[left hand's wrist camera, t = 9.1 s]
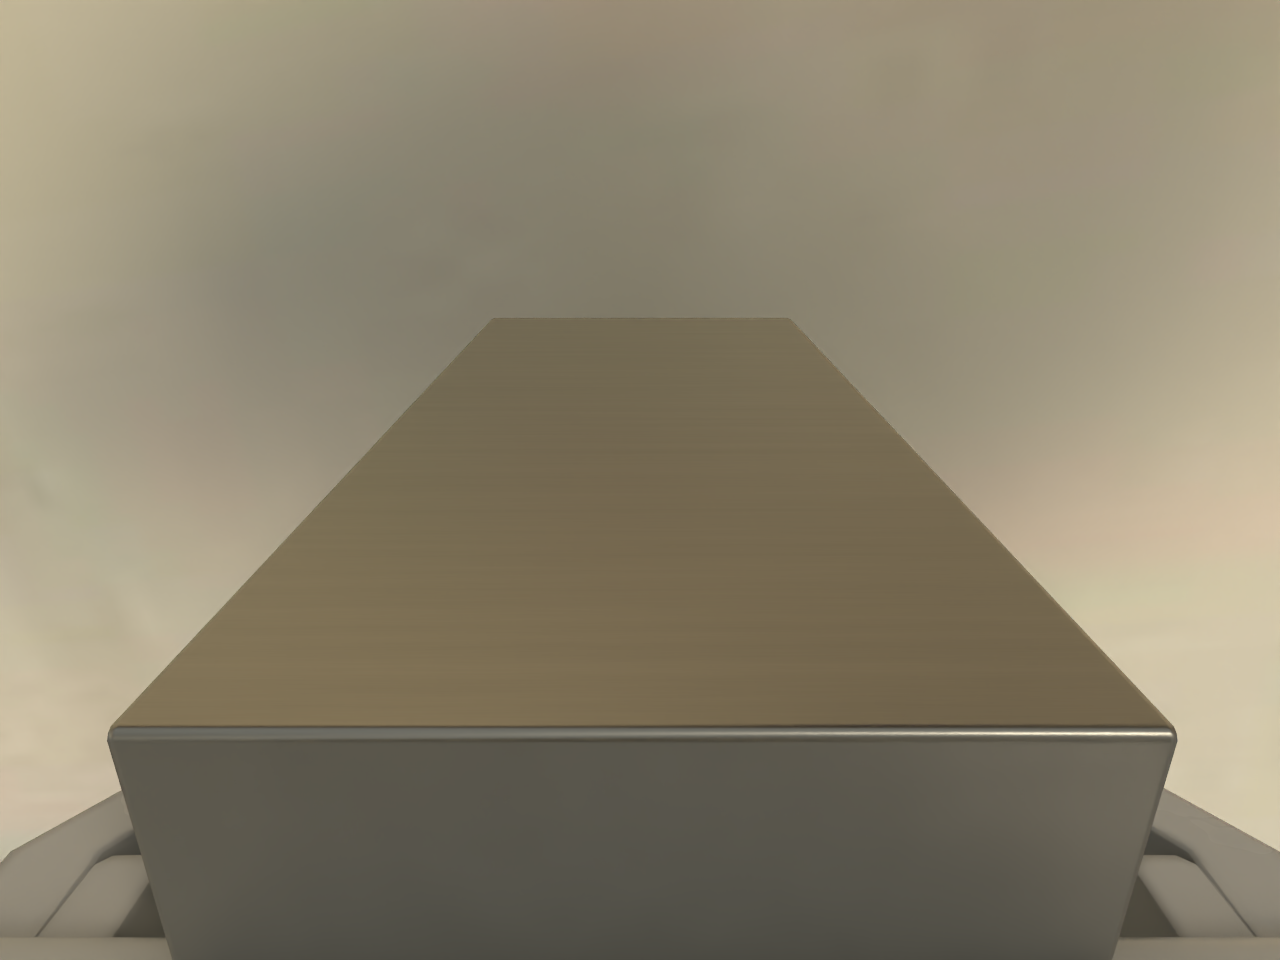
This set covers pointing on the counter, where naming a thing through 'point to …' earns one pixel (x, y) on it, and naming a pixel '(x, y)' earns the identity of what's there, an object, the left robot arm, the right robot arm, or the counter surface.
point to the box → (642, 689)
